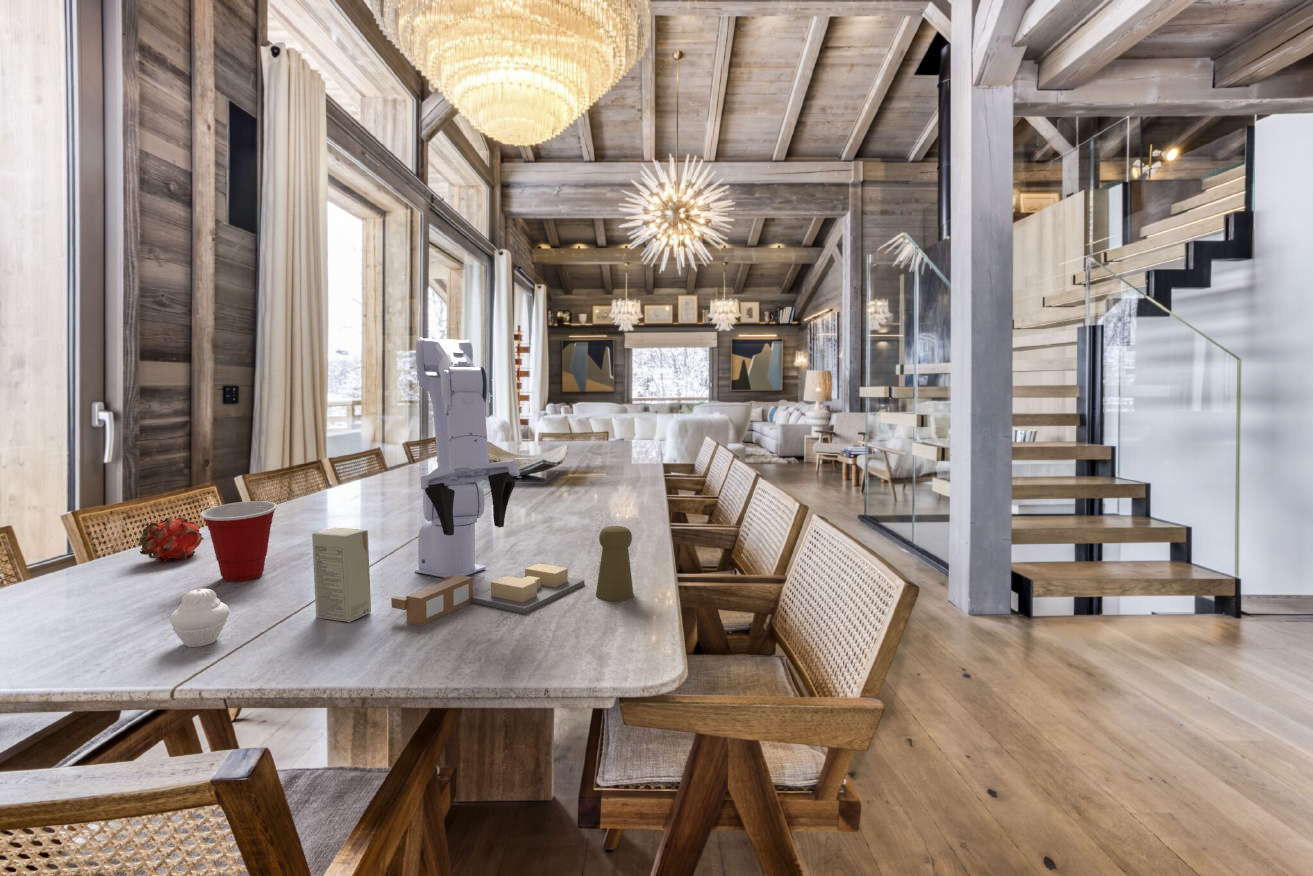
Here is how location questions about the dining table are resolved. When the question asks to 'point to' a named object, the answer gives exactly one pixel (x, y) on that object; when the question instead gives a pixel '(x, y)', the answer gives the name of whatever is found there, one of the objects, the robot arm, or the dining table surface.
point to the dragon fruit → (170, 539)
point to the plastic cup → (240, 537)
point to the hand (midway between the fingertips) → (473, 530)
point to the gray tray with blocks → (529, 589)
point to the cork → (615, 565)
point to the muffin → (199, 618)
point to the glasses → (436, 599)
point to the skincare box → (341, 574)
